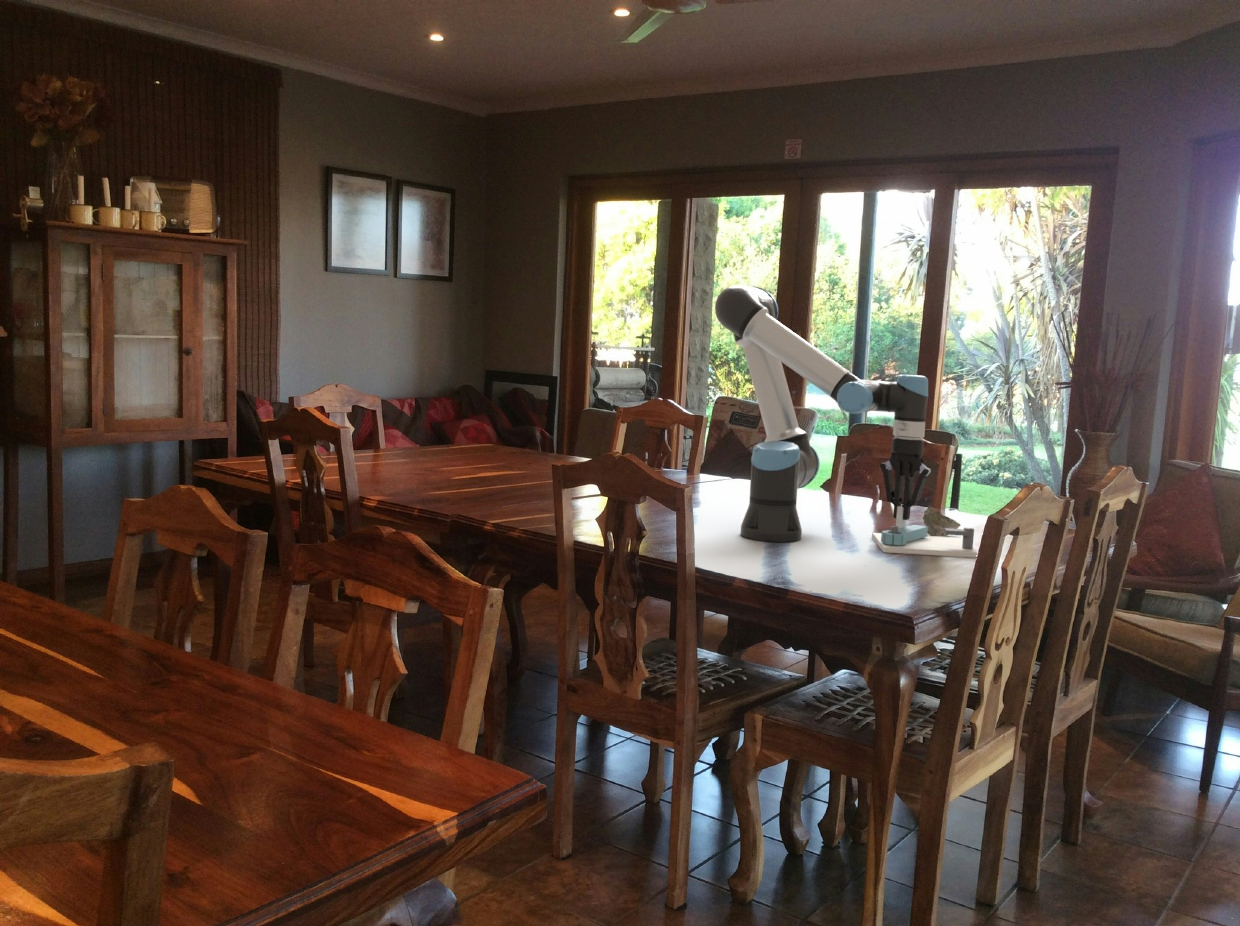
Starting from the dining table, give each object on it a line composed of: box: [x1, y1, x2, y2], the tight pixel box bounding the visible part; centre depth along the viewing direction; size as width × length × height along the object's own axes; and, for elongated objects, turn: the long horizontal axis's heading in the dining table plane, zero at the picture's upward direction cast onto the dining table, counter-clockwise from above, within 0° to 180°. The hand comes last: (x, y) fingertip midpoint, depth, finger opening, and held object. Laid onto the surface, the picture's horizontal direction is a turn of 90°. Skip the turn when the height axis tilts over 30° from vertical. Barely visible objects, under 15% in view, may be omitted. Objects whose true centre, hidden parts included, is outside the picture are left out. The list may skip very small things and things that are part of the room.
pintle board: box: [871, 525, 979, 559], centre depth 262 cm, size 22×19×6 cm
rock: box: [922, 504, 961, 537], centre depth 278 cm, size 11×6×10 cm
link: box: [881, 524, 928, 545], centre depth 263 cm, size 18×6×2 cm, turn 140°
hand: (900, 531), depth 266 cm, fingers closed
